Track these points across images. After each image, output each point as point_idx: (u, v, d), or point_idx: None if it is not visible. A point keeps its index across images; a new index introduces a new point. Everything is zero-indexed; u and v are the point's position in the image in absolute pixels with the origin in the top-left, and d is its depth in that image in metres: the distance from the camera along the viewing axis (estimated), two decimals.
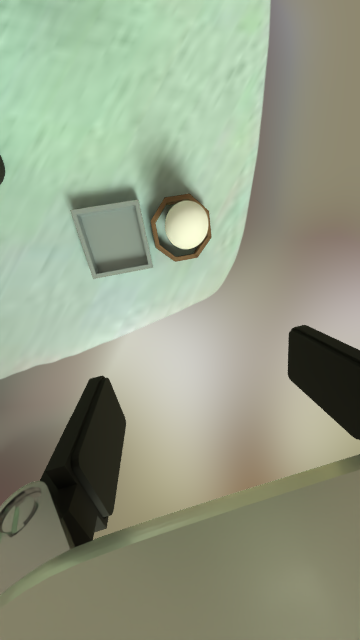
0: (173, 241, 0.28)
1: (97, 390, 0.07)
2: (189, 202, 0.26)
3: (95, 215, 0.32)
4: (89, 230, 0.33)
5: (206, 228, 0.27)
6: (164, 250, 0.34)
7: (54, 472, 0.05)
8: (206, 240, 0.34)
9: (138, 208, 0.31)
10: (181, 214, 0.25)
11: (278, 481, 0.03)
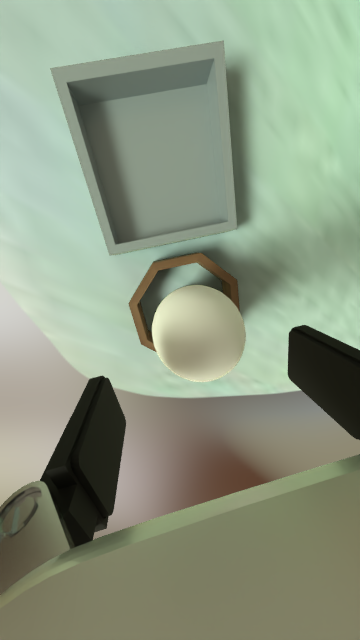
0: (165, 309, 0.12)
1: (97, 390, 0.07)
2: (244, 342, 0.12)
3: (208, 127, 0.15)
4: (178, 103, 0.14)
5: None
6: (148, 280, 0.16)
7: (54, 472, 0.05)
8: None
9: (222, 228, 0.16)
10: (228, 333, 0.10)
11: (278, 481, 0.03)
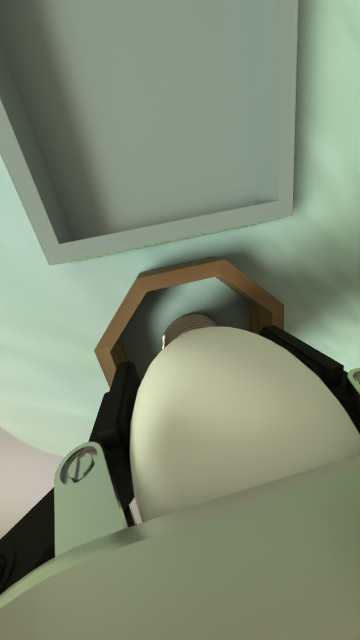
0: (161, 414, 0.04)
1: (127, 372, 0.08)
2: None
3: (242, 12, 0.07)
4: None
5: None
6: (128, 310, 0.09)
7: (104, 434, 0.06)
8: None
9: (266, 213, 0.08)
10: None
11: (278, 481, 0.03)
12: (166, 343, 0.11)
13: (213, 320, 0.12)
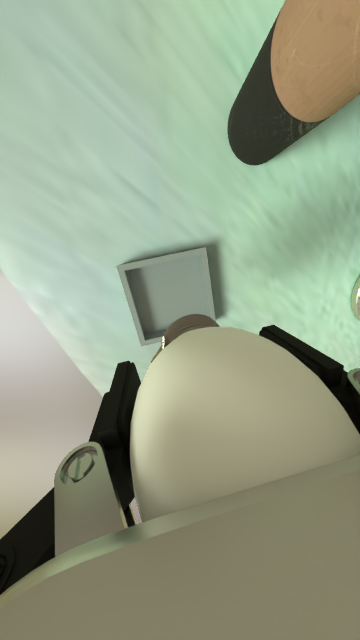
0: (161, 414, 0.04)
1: (127, 372, 0.08)
2: None
3: (199, 273, 0.26)
4: (181, 263, 0.25)
5: None
6: None
7: (104, 434, 0.06)
8: None
9: None
10: None
11: (278, 481, 0.03)
12: (166, 343, 0.11)
13: (213, 320, 0.12)
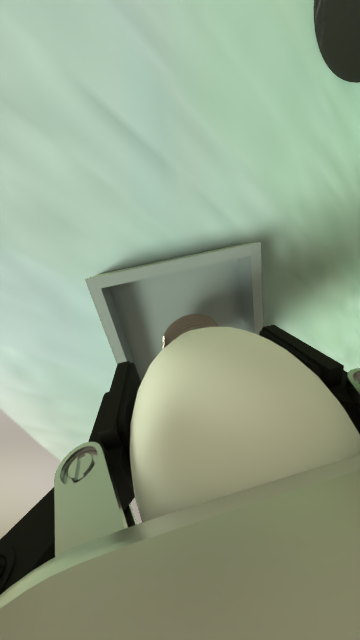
0: (160, 414, 0.04)
1: (127, 372, 0.08)
2: None
3: (237, 288, 0.15)
4: (208, 272, 0.14)
5: None
6: None
7: (104, 434, 0.06)
8: None
9: None
10: None
11: (278, 481, 0.03)
12: (166, 343, 0.11)
13: (213, 320, 0.12)
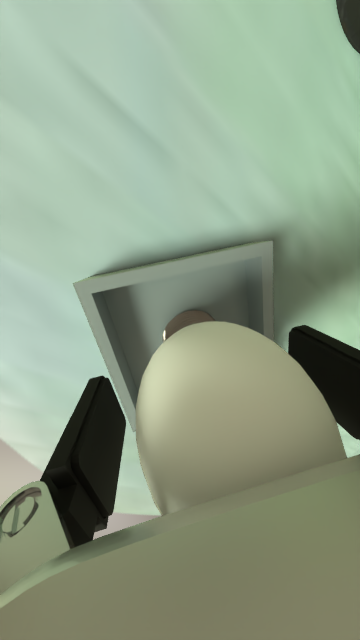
0: (163, 394, 0.05)
1: (97, 390, 0.07)
2: None
3: (244, 292, 0.13)
4: (212, 274, 0.12)
5: None
6: None
7: (54, 472, 0.05)
8: None
9: None
10: None
11: (278, 481, 0.03)
12: (167, 337, 0.11)
13: (211, 316, 0.13)
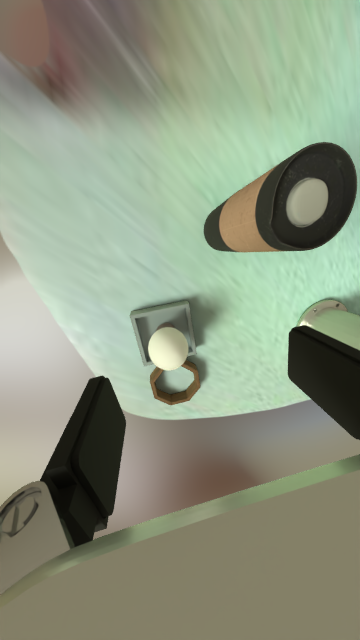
0: (154, 340, 0.29)
1: (97, 390, 0.07)
2: (186, 354, 0.29)
3: (185, 316, 0.37)
4: (173, 311, 0.36)
5: None
6: (159, 373, 0.39)
7: (54, 472, 0.05)
8: (168, 402, 0.41)
9: (190, 354, 0.38)
10: (177, 351, 0.28)
11: (278, 481, 0.03)
12: None
13: (172, 325, 0.37)
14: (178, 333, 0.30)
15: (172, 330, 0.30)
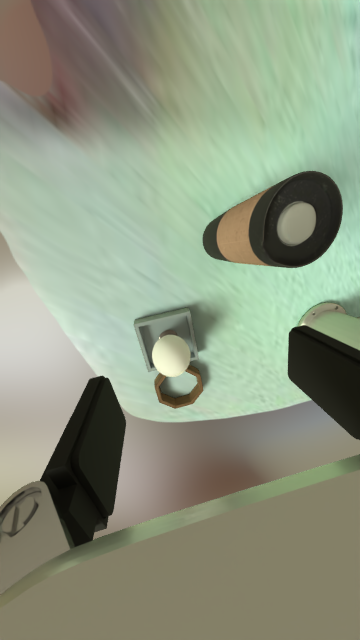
0: (157, 348, 0.30)
1: (97, 390, 0.07)
2: (188, 360, 0.31)
3: (186, 323, 0.38)
4: (175, 318, 0.38)
5: (170, 376, 0.31)
6: (163, 378, 0.40)
7: (54, 472, 0.05)
8: (172, 405, 0.43)
9: (192, 359, 0.39)
10: (179, 359, 0.29)
11: (278, 481, 0.03)
12: (159, 339, 0.37)
13: (174, 331, 0.38)
14: (180, 341, 0.31)
15: (174, 338, 0.32)
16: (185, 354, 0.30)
